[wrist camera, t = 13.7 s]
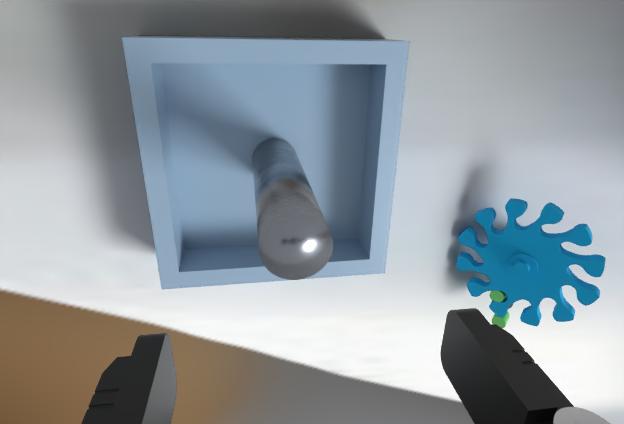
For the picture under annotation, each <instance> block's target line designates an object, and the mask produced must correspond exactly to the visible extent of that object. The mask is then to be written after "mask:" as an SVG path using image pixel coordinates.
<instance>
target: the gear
mask: <svg viewBox="0 0 624 424" xmlns="http://www.w3.org/2000/svg"><path fill="white" fill-rule="evenodd" d="M527 206H528V205H527V202H526V201H524V200H520V199H510V200H509V201H508V202H507V204H506V207H505V208H506V212H507V215H508V223H507V226H506V228H505V230H503V231H498V230H496V229H495V228H494V227H493V221H494V219H495V217H496V212H495V210H494V209H493V208H485V209H482V210H480V211H478V212H477V213H476V214H475V219H476V221H477V222H478V223H479V224H480V225H481V226H482V227H483V228H484V230H485V231H486V234H487V238H488V244H482V243H480V242H479V241H478V238H477V233H476V231H475V229H473V228H472V227H468V228H466V229H465V230H464V231H463V232H462V233H461V235H460V236H459V237H458V241H459V242H460V243H461V244H463V245H466V246H469V247H471V248H472V249H474V250H475V251H476V252H477V253H478V254H479V255H480V256H481V258H482V259H483V263H478V262H476V261H475V260H474V259H473V257H472V256H471V255H470V254H468V253H466V252H462V253H461V254H460V255H459V257H458V259H457V269H459V270H461V271H467V270H472V271H477V272H480V273H482V274H484V275H486V276H487V277H489V279H490V282H485V281H483V280H481V279H479V278H471V279H470V280H469V282H468V283H467V287H468V290H469V292H470V294H471V295H472V296H474V297H477V296H480V295H481V294H482V293H484V292H486V291H491V290H492V291H491V293H490V298H491V299H492V302H491V304H490V306H489V307H490V309H491V310H492V311H493V312H494V313H495V315H494V317H493V319H492V324H496V325H498V326H499V327H501V328H504V327H505V325H506V323H507V321H508V319H509V313H508V312H507V311H508V309H509V308H511V307H512V305H513V303H514V302H516V301H518V300H521V299H525V300H527V301H529V302H530V303H531V306H529V307H526V308H525V309H524V310H523V312H522V314H521V317H520V318H521V321H522V322H524V323H526V324H529V325H533V326H538V325H539V322H540V320H541V313H540V310H539V304H540V302H541V300H542V299H543V298H552V299H553V300H555V301H556V303H557V304H556V306H555V308H554V311H553V317H554V319H555V320H556V321H560V322H565V321H571V320H573V319H574V314H575V310H574V308H573V307H572V306H571V305H570V304H569V303H568V302H567V301H566V300H565V298H564V296H563V294H562V288H561V287H562V286H564V285H570V286H572V287H574V288H575V289H576V292H577V299H578V301H579V302H580V303H582V304H583V305H586V306H587V305H590V304H592V303H593V302H595V301H596V300H597V299H598V298H599V296H600V290H599V289H598V288H597V287H596V286H594V285H592V284H588V283H586V282H584V281H582V280H580V279H579V278H577V277H576V276H575V275H574V274H573V273H572V271H571V270H570V269H569V267H568V266H570V265H572V264H577V265H580V266H581V267H582V268H583V269H584V270H585V271H586V272H587V273H588V274H589V275H591V276H593V277H600V276H601V275H602V273H603V271H604V266H605V257H603V256H601V255H578V254H574V253H572V252H569V251H567V250H565V249H564V248H563V247H562V246H561V243H563V242H567V241H568V242H572V243H574V244H576V245H579V246H587V245H590V244H591V243H592V233H591V231H590V229H589V227H588V225H587V224H579V225H577V226H575V227H574V228H573V229H571V230H569V231H567V232H564V233H557V234H549V233H546V232H544V231H543V230H542V228H541V226H542V225H544V224H555V223H558V222H560V221H561V219H562V217H563V215H564V212H563V211H562V210H561V209H560V208H559V207H558V206H556V205H555V204H553V203H548V204H546V205H545V206H544V208H543V210H542V212H541V216H540V217H539V219H538V220H537V221H535V222H534V223H532V224H530V225H528V226H525V227H523V226H520V225H519V224H518V223H517V222H516V218H518V217H519V216H521V215H522V214H523V213H524V212H525V211H526V209H527Z"/></svg>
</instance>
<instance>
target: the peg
mask: <svg viewBox="0 0 624 424" xmlns="http://www.w3.org/2000/svg"><path fill="white" fill-rule="evenodd" d="M252 167H253V180H254V192H255V205H256V217H257V230H258V242H259V254H260V258H261V261H262V263H263V264H264V266H265V267H266V268H267V270H268V271H270V272H271V273H272V274H274V275H276V276H278V277H280V278H283V279H288V280H299V279H304V278H307V277H310V276H312V275H314V274H316V273H317V272H319V271H320V270H321V269H322V268H323V267H324V266H325V265H326V264H327V263H328V261H329V259H330V257H331V255H332V251H333V238H332V235H331V233H330V230H329V228H328V226H327V223H326V221H325V219H324V216H323V214H322V212H321V209H320V207H319V205H318V202H317V200H316V198H315V195H314V193H313V191H312V188H311V186H310V184H309V181H308V179H307V177H306V174H305V172H304V170H303V167H302V165H301V163H300V160H299V158H298V156H297V153H296V151H295V149H294V148H293V146H292V145H291V144H290V143H289V142H287V141H285V140H283V139H280V138H270V139H266V140H264V141H262V142H261V143H260V144H259V145H258V146H257V147H256V148H255V150H254V152H253V155H252Z"/></svg>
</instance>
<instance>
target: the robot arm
mask: <svg viewBox="0 0 624 424" xmlns="http://www.w3.org/2000/svg"><path fill="white" fill-rule="evenodd" d="M441 361H442V366H443V369H444V371H445V373H446V375H447V376H448V378H449V380H450V382H451V383H452V385H453V387H454V389H455V390H456V392H457V394H458V396H459V397H460V399H461V401H462V403H463V404H464V406H465V408H466V409H467V411H468V413H469V415H470V416H471V418H472V420H473V422H474V423H475V424H610V423H609V422H608V421H606V420H605V419H603V418H602V417H600V416H599V415H597V414H595V413H593V412H590V411H588V410H585V409H582V408H577V407H574V406H573V405H572V404H571V403H570V402H569V400H568V399H567V398H566V397H565V396H564V395H563V393H562V392H561V391H560V390H559V389H558V388H557V386H556V385H555V384H554V383H553V382H552V381H551V380H550V378H549V377H548V376H547V375H546V374H545V373H544V371H543V370H542V369H541V368H540V367H539V366H538V364H535V363H534V360H533V359H532V357H531V356H530V355H529V354H528V353H527V352H525V351H524V348H523V347H522V346H521V345H520V344H519V342H518V341H517V340H516V339H515V338H514V337H513V335H511V334H510V333H508V332H507V331H505V330H504V329H502V328H501V327H499V326H498V325H496V324H493V325H490V323H489V322H488V321H487V320H486V319H485V317H484V316H483V315H482V314H481V312H480V311H479V310H477V309H475V308H472V309H460V310H451V311H449V312H448V314H447V319H446V324H445V330H444V335H443V341H442V346H441ZM176 389H177V381H176V371H175V365H174V359H173V352H172V346H171V341H170V336H169V334H168V333H161V334H149V335H140V336H139V337H138V338H137V340H136V343H135V346H134V349H133V352H132V355H131V356H126V357H117V358H116V359H115V360H114V361H113V362H112V363H111V365H110V366H109V367H108V368H107V369H106V370H105V371H104V372H103V373H102V376H101V379H100V380H99V383H98V385H97V388H96V390H95V394H94V395H93V397H92V400H91V402H90V405H89V409H88V410H87V412H86V414H85V416H84V419H83V421H82V424H171V420H172V415H173V410H174V405H175V399H176Z"/></svg>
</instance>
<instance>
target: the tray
mask: <svg viewBox="0 0 624 424" xmlns="http://www.w3.org/2000/svg"><path fill="white" fill-rule="evenodd" d="M122 42H123V48H124V55H125V61H126V67H127V73H128V80H129V86H130V92H131V99H132V105H133V111H134V117H135V124H136V130H137V136H138V143H139V149H140V155H141V162H142V168H143V174H144V180H145V187H146V193H147V199H148V206H149V212H150V218H151V225H152V231H153V237H154V243H155V250H156V256H157V262H158V269H159V275H160V281H161V287H162V289H174V288H187V287H201V286H215V285H228V284H242V283H256V282H269V281H283V280H288V279H283V278H280V277H278V276H276V275H274V274H272V273H271V272H270V271H268V270H267V268H266V267H265V266H264V264H263V263H262V261H261V258H260V254H259V242H258V230H257V217H256V205H255V192H254V180H253V167H252V155H253V152H254V150H255V148H256V147H257V146H258V145H259V144H260V143H261V142H262V141H264V140H266V139H270V138H280V139H283V140H285V141H287V142H289V143H290V144H291V145H292V146H293V148H294V149H295V151H296V153H297V156H298V158H299V160H300V163H301V165H302V167H303V170H304V172H305V174H306V177H307V179H308V181H309V184H310V186H311V188H312V191H313V193H314V195H315V198H316V200H317V202H318V205H319V207H320V209H321V212H322V214H323V216H324V219H325V221H326V223H327V226H328V228H329V230H330V233H331V235H332V238H333V251H332V255H331V257H330V259H329V261H328V263H327V264H326V265H325V266H324V267H323V268H322V269H321V270H320V271H319V272H317V273H316V274H314V275H312V276H310V277H307V278H304V279H310V278H324V277H338V276H352V275H365V274H379V273H385V267H386V258H387V248H388V239H389V229H390V220H391V211H392V201H393V192H394V183H395V173H396V164H397V154H398V145H399V136H400V126H401V117H402V107H403V98H404V89H405V79H406V70H407V60H408V51H409V41H399V40H389V39H338V38H272V37H205V36H130V37H122Z"/></svg>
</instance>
